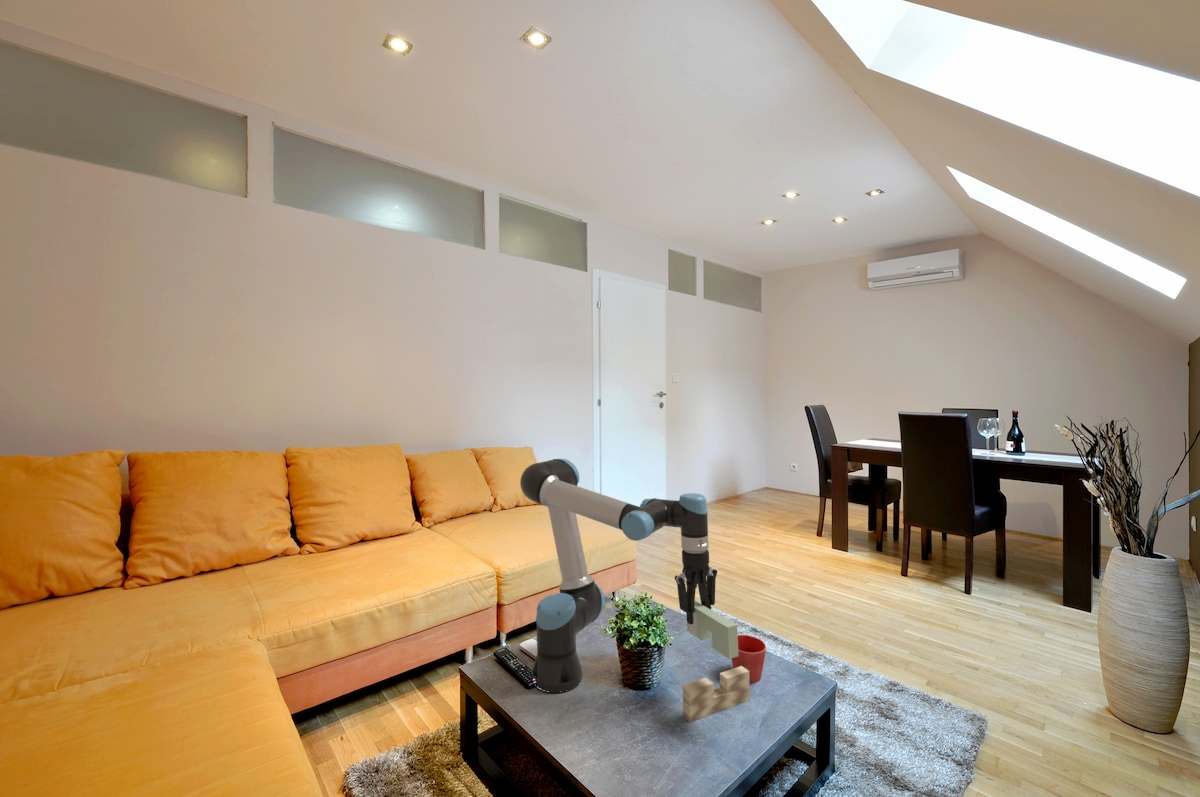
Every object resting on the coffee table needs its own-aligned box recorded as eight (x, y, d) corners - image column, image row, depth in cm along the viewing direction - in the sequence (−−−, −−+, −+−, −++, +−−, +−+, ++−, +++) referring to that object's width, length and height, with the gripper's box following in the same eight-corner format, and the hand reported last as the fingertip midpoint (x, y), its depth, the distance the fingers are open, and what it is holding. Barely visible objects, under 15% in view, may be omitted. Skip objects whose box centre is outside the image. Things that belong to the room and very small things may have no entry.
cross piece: (738, 656, 123) (737, 624, 124) (729, 659, 122) (727, 627, 122) (695, 627, 140) (694, 600, 140) (687, 630, 138) (686, 602, 138)
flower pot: (761, 665, 150) (761, 634, 150) (770, 687, 139) (769, 653, 139) (726, 664, 151) (726, 633, 151) (732, 685, 140) (732, 652, 140)
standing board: (690, 722, 124) (689, 691, 124) (683, 715, 127) (682, 685, 127) (749, 700, 133) (749, 671, 133) (742, 694, 136) (741, 665, 136)
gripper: (679, 558, 129) (682, 645, 129) (726, 548, 136) (729, 631, 136) (663, 550, 136) (667, 634, 136) (709, 541, 143) (712, 620, 143)
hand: (698, 632), depth 136 cm, fingers closed on cross piece, 3 cm apart
